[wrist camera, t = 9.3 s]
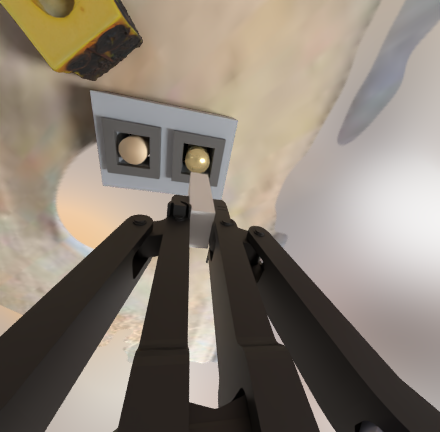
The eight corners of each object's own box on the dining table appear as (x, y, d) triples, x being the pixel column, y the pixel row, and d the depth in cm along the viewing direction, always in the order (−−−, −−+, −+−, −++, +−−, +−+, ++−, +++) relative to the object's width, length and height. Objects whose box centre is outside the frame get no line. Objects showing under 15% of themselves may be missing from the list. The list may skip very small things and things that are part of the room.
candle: (94, 82, 30) (55, 76, 22) (32, -1, 25) (-52, -52, 16) (146, 44, 28) (125, 20, 20) (91, -54, 23) (32, -142, 15)
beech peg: (132, 151, 36) (119, 162, 30) (131, 128, 34) (117, 135, 28) (154, 155, 36) (146, 166, 30) (154, 133, 34) (146, 140, 28)
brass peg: (185, 159, 38) (184, 171, 32) (187, 138, 36) (186, 147, 30) (205, 163, 38) (207, 174, 32) (208, 142, 36) (211, 151, 30)
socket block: (115, 174, 38) (99, 188, 32) (107, 91, 31) (85, 89, 25) (218, 187, 42) (222, 202, 36) (231, 117, 35) (239, 121, 29)
